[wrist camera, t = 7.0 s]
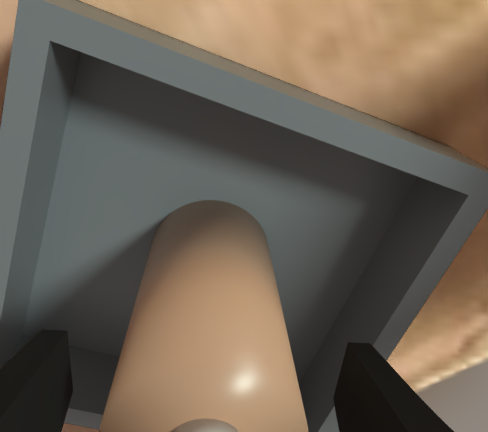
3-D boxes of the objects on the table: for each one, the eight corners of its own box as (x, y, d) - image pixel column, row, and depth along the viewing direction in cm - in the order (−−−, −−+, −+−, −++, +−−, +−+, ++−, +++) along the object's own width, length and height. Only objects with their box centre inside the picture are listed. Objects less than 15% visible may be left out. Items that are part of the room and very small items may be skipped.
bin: (448, 145, 16) (506, 179, 12) (298, 401, 21) (312, 471, 18) (68, -4, 13) (20, -9, 10) (5, 334, 18) (-40, 402, 15)
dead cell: (274, 203, 15) (334, 402, 8) (262, 302, 17) (299, 546, 9) (151, 196, 15) (78, 399, 7) (152, 298, 17) (94, 549, 9)
